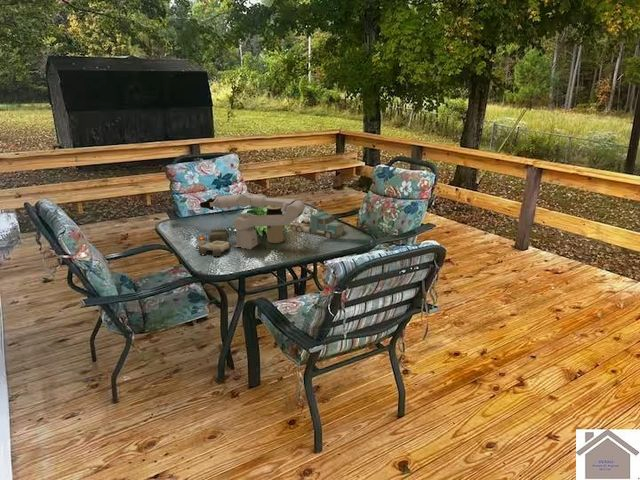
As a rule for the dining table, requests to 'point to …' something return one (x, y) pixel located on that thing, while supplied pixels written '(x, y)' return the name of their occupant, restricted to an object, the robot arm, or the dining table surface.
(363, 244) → the dining table surface
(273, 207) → the travel mug
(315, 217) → the truck
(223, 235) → the stone block
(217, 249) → the trolley
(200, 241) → the canister with orange lid
